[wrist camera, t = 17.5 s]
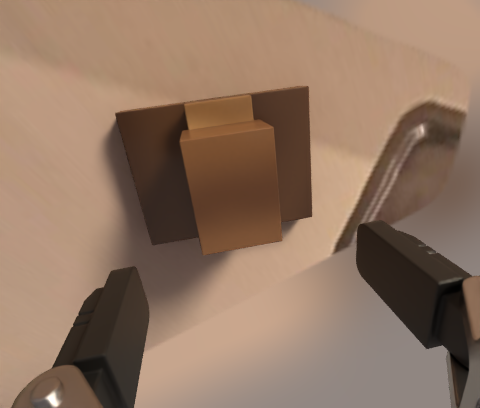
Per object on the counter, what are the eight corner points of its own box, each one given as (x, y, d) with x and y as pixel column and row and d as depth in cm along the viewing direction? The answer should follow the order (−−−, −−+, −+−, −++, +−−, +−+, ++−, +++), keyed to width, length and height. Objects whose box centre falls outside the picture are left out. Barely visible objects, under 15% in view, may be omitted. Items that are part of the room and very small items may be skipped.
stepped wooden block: (178, 104, 19) (172, 110, 14) (252, 93, 20) (271, 96, 15) (204, 236, 23) (207, 275, 18) (265, 225, 24) (284, 261, 19)
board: (154, 236, 24) (152, 245, 23) (120, 111, 20) (114, 113, 19) (306, 209, 25) (312, 217, 24) (301, 85, 21) (308, 86, 20)
